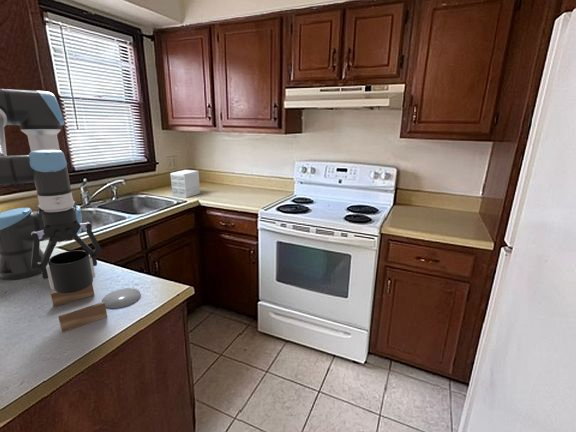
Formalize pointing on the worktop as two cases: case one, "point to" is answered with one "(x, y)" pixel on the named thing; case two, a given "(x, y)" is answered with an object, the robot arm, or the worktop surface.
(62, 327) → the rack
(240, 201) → the worktop surface
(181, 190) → the supplement box
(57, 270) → the mug
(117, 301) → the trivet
